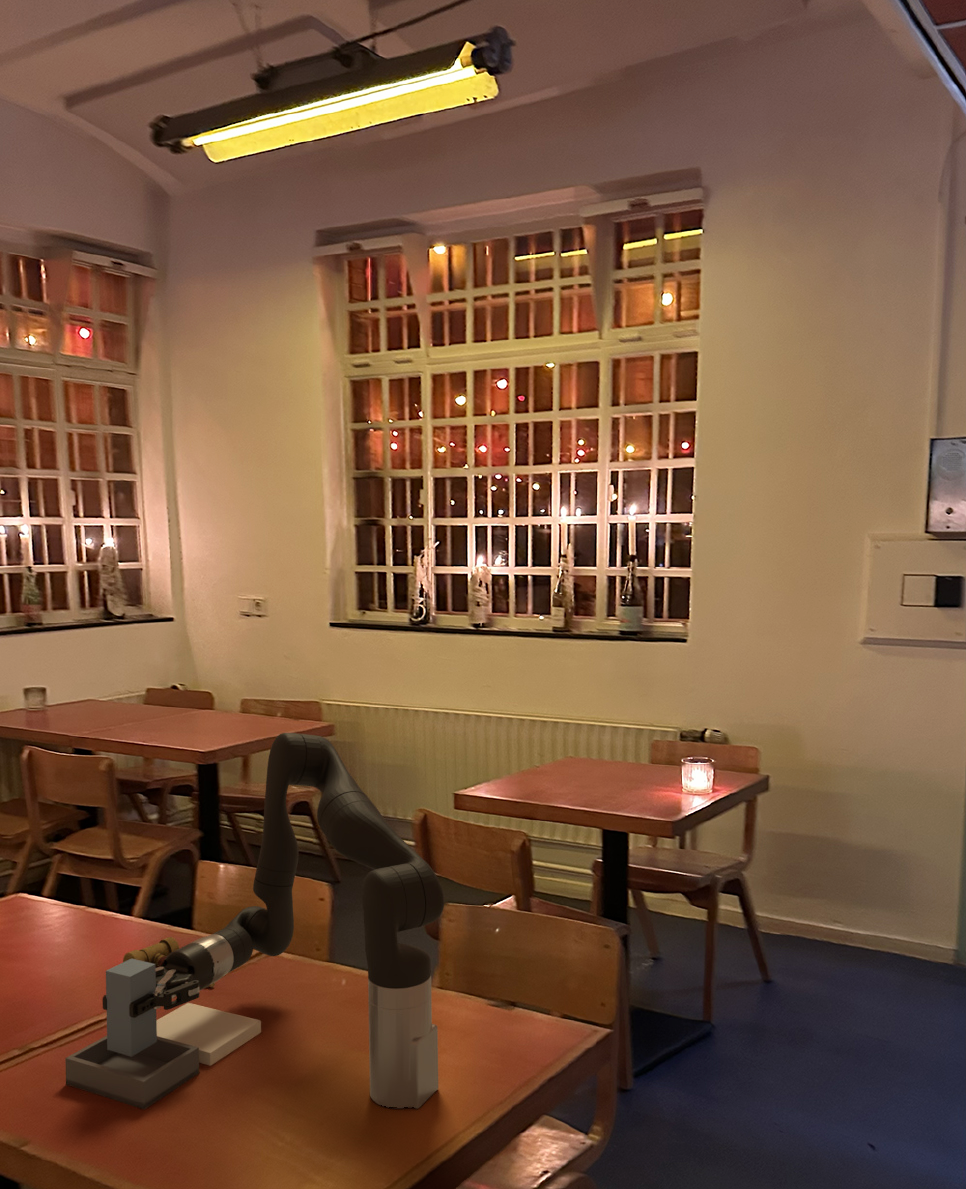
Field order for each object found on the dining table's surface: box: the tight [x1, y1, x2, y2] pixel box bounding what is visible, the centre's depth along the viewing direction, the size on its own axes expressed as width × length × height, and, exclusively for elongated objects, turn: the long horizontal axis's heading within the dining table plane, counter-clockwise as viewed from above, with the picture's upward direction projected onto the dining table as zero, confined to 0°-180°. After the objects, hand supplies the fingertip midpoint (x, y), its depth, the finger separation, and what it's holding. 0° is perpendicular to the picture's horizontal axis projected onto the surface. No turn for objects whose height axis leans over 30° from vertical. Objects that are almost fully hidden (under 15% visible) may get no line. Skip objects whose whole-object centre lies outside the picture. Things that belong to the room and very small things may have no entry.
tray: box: [64, 1035, 200, 1110], centre depth 144 cm, size 16×11×4 cm
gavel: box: [122, 936, 216, 988], centre depth 182 cm, size 21×5×10 cm
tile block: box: [105, 959, 157, 1057], centre depth 144 cm, size 5×5×12 cm
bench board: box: [156, 1002, 262, 1067], centre depth 157 cm, size 16×12×2 cm
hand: (118, 1007), depth 142 cm, fingers closed on tile block, 5 cm apart
